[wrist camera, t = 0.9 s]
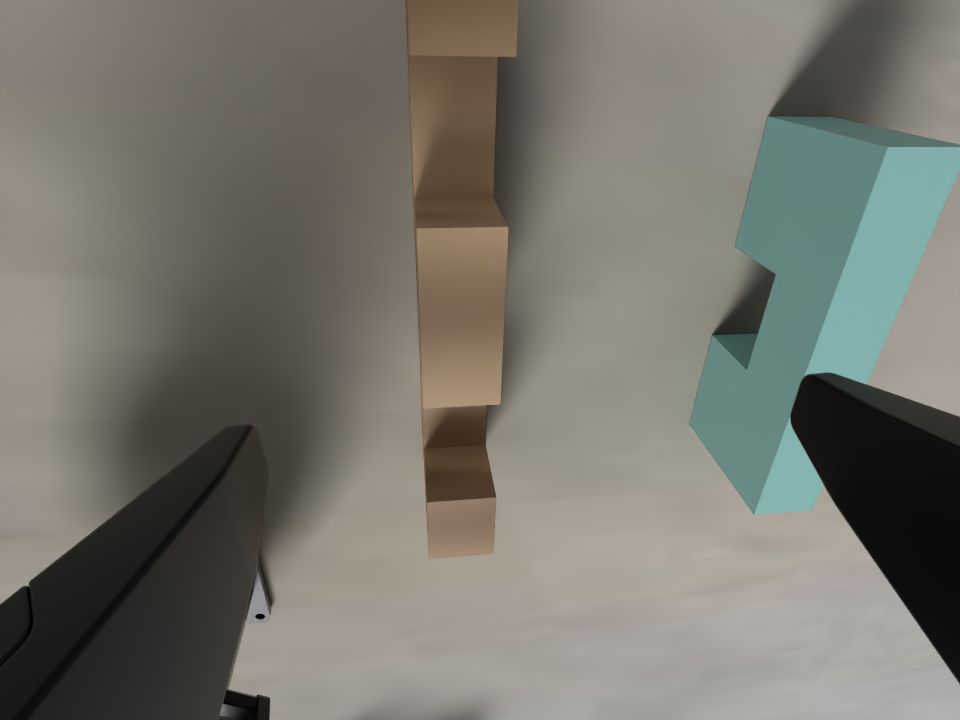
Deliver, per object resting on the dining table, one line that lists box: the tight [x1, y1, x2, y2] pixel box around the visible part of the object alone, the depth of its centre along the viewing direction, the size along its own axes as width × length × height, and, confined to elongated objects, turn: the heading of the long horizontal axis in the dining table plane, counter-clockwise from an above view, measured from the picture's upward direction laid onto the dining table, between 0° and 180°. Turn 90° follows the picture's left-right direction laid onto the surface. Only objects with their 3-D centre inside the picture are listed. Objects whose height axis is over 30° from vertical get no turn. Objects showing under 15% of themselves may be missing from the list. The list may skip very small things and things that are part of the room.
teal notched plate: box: [689, 116, 960, 515], centre depth 22 cm, size 14×2×6 cm, turn 179°
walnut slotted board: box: [406, 0, 519, 559], centre depth 19 cm, size 20×2×6 cm, turn 179°
